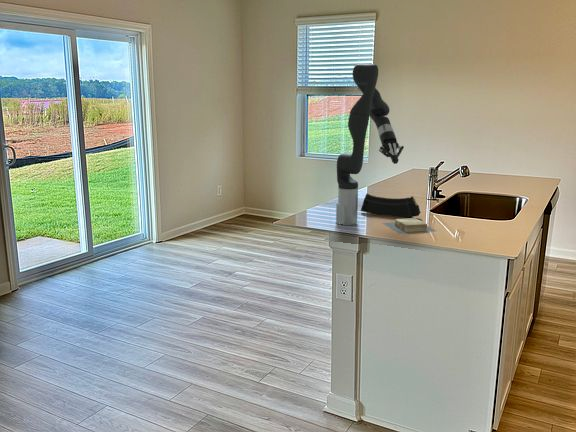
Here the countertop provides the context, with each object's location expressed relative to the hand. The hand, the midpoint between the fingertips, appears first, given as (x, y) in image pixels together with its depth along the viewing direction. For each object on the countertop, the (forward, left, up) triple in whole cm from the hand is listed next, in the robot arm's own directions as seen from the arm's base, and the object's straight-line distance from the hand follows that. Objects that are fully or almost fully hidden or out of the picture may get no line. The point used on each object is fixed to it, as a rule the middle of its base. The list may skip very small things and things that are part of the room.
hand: (396, 162), depth 247 cm
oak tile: (-5, -13, -26) cm, 30 cm away
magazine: (+3, +6, -28) cm, 29 cm away
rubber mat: (-7, -17, -28) cm, 33 cm away
